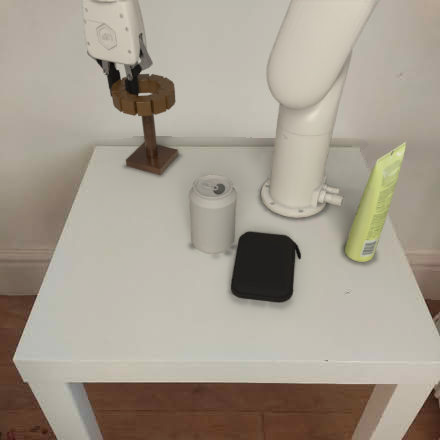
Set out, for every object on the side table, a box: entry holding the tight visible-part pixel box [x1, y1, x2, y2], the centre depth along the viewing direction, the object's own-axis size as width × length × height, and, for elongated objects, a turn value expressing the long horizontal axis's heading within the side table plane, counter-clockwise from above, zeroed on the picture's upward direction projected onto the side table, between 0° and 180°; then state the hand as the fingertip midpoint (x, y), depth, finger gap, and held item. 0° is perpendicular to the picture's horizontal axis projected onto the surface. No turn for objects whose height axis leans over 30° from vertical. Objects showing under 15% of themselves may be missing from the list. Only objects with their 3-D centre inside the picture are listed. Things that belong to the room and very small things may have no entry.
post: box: [125, 113, 179, 176], centre depth 91 cm, size 8×8×12 cm
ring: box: [111, 73, 176, 117], centre depth 85 cm, size 12×12×3 cm
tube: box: [344, 141, 408, 263], centre depth 71 cm, size 6×5×20 cm
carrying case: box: [230, 230, 302, 304], centre depth 73 cm, size 11×3×15 cm
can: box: [188, 174, 237, 255], centre depth 75 cm, size 8×8×12 cm
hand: (124, 95), depth 87 cm, fingers closed on ring, 3 cm apart
